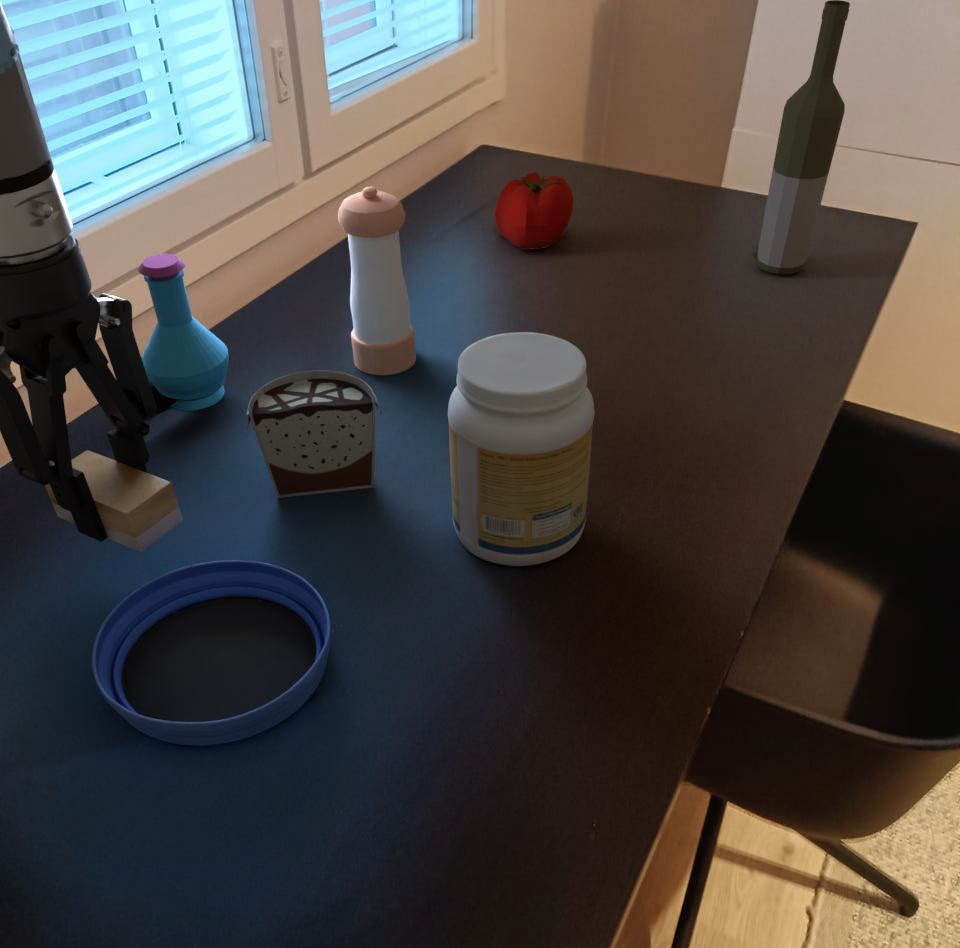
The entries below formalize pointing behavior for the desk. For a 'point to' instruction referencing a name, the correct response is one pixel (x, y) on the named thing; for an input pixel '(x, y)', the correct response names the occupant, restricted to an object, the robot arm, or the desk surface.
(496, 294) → the desk surface
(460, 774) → the desk surface
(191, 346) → the perfume bottle
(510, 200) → the tomato
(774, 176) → the bottle
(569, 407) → the supplement tub
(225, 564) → the blue ring
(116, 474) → the eraser
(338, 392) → the food container
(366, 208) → the pepper shaker
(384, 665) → the desk surface
